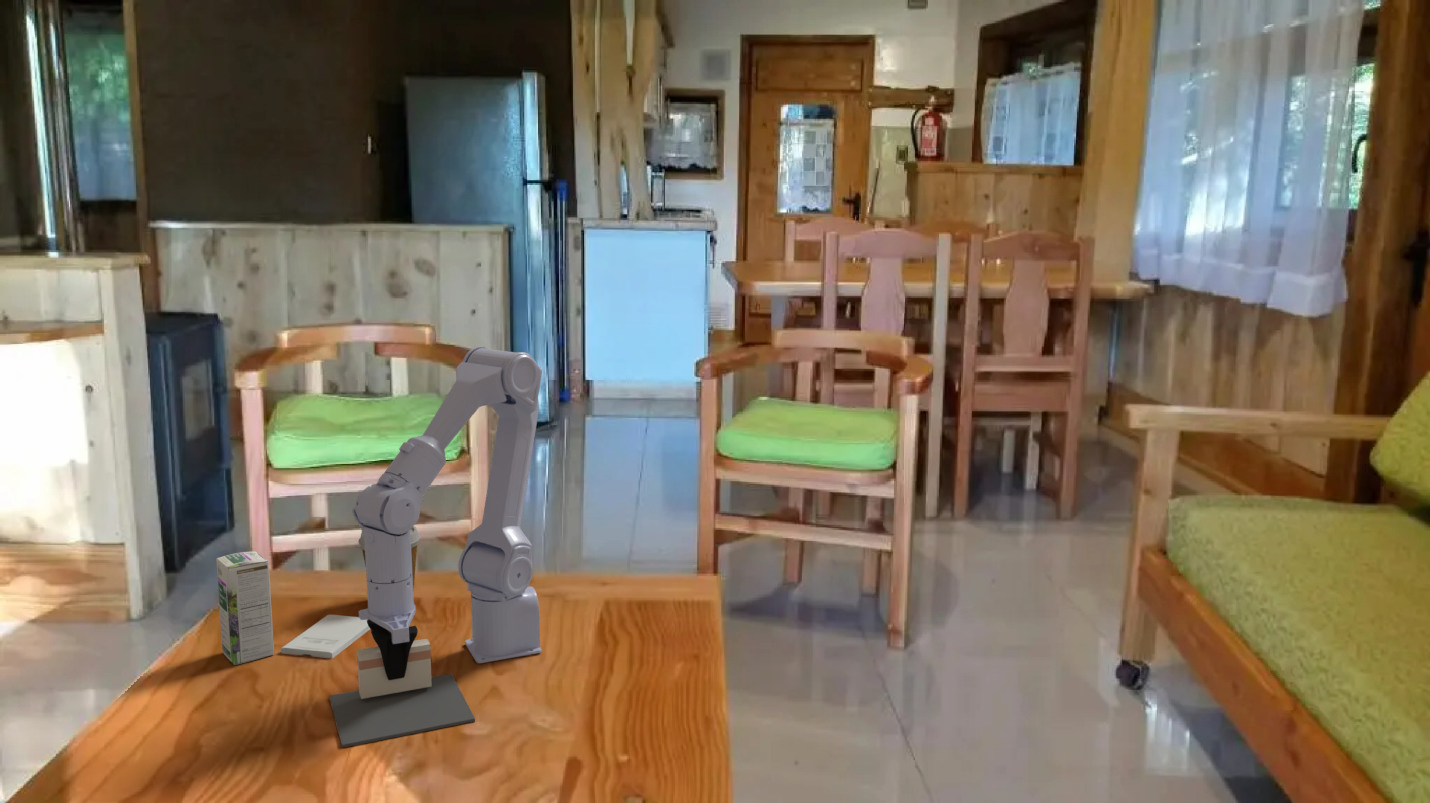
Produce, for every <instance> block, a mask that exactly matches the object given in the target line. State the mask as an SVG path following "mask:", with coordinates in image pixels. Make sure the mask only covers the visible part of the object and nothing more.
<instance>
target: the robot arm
mask: <svg viewBox="0 0 1430 803" xmlns="http://www.w3.org/2000/svg"><path fill="white" fill-rule="evenodd" d="M542 375H543V371H542V369H541V367H540V366H539V364H538V363H537V362H536V360H535V359H534V357H533V356H532V355H531V354H529V353H527V352H524V351H523V352H515V351H506V350H501V349H500V350H499V349H492V348H487V347H485V346H476V347H473V348H471V349H470V350H468V352H467V353H466V354H465V356H464V357H463V359H462V361H461V362H460V363H459V364H458V365H457V367H456V368H455V382H454V384H453V385H452V387H451V389H450V390H449V392H448V393H447V395H446V397H445V398H444V399H443V402H442V403H441V405H440V406H439V407H438V409H437V410H436V413H435V415H434V416H433V417H432V419H431V421H430V422H429V424H428V426H427V428H426V429H425V430H424V433H423V434H422V435H418V436H414V437H410V438H408V440H407V441H403V442H402V444H401V445H400V447H399V448H398V450H399V451H398V453H397V455H395V458H394V459H393V460H392V462H390V464H389V466H388V467H387V468H386V470H384V472H383V473H382V474H381V475H380V477H379V478H378V481H377V482H376V483H373V484H371V486H370V485H368V486H367V487H366V488H365V489H363V490H362V491H361V492H359V493H360V494H359V495H358V496H357V499H356V502H355V506H354V508H352V509H351V510H352V512H351V513H352V516H353V519H354V521H355V522H356V523H357V524H358V525H359V526H360V528H361V533H362V537H364V541H365V559H366V567H365V573H366V574H365V575H366V594H367V608H365V609H360V610H358V617H359V618H360V619H361V620H367V619H368V620H367V624H368V626H369V628H370V633H371V636H372V639H373V640H374V642H375V644H376V645H377V646H378V647H379V649H380V651H381V655H382V659H383V664H384V668H385V672H386V675H387V678H388V680H394V679H400V678H404V677H405V673H406V668H407V662H408V657H409V652H410V649H411V646H412V644H413V642H414V641H415V640H416V638H417V636H418V632H419V631H418V630H419V629H418V628H417V625H411V623H412V621H413V619H414V617H415V614H416V610H417V608H416V604H415V602H414V601H415V599H414V590H413V575H412V554H411V531H410V529H411V528H412V527H413V526H415V525H416V524H417V523H418V521H419V518H420V514H421V507H422V503H423V502H424V498H425V496H424V495H425V493H426V492H427V490H428V489H429V487H430V486H431V485H432V483H433V482H434V481H435V479H436V477H437V476H438V475H439V473H440V472H441V470H443V468H444V466H445V465H446V463H447V459H446V452H445V450H446V448H447V447H448V446H449V445H450V444H451V442H452V441H453V440H454V438H455V437H456V436H458V434H459V432H461V430H462V429H463V428H464V426H465V425H466V424H467V423H468V422H469V420H470V419H471V418H472V417H473V415H474V414H475V413H476V412H477V411H478V410H479V408H481V407H485V406H491V407H492V408H493V410H494V411H495V413H496V414H497V417H498V421H497V426H496V432H495V433H496V434H495V440H494V445H493V451H492V458H491V459H492V460H491V465H490V471H489V477H488V483H487V488H486V489H487V490H486V495H485V496H486V497H485V502H484V508H483V512H482V513H483V515H482V521H481V524H479V525H477V527H475V528H474V529H472V530H471V531H470V532H469V533H468V535H467V539H466V544H465V546H464V548H463V550H462V552H461V554H460V556H459V560H458V564H457V565H458V566H457V568H458V575H459V576H460V577H459V578H460V579H461V580H462V581H463V582H465V584H467V591H469V592H470V605H471V607H470V608H471V609H470V610H471V611H470V612H471V635H472V638H469V639H466V640H465V641H464V644H465V646H466V648H467V649H468V651H469V653H470V654H471V656H472V657H473V659H474V660H475V663H477V664H484V663H490V662H496V661H500V660H507V659H512V658H518V657H523V656H529V655H534V654H540V653H542V652H543V651H542V648H541V632H540V631H541V630H540V629H541V627H540V626H541V625H540V624H541V623H540V620H541V619H540V603H539V599H538V598H539V597H538V595H537V591H536V590H535V587H533V586H530V583H531V581H532V578H533V574H534V572H533V571H534V566H533V561H532V549H533V544H532V543H531V542H530V540H529V539H528V538H527V536H526V535H525V534H524V532H523V530H522V529H521V524H522V518H523V511H524V506H525V505H524V504H525V501H526V500H525V499H526V493H527V487H528V482H529V481H528V479H529V475H530V474H529V473H530V468H531V462H532V454H533V449H534V443H535V437H536V432H537V431H536V430H537V424H538V417H539V411H540V410H539V409H540V405H539V404H540V402H539V394H540V389H541V388H540V387H541V382H542V381H541V380H542ZM410 625H411V626H410Z"/></svg>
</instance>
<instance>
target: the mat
mask: <svg viewBox="0 0 1430 803" xmlns="http://www.w3.org/2000/svg"><path fill="white" fill-rule="evenodd" d="M431 681H432V686H431V687H426V688H420V689H414V690H409V691H403V692H398V693H392V694H386V695H381V696H375V697H369V698H364V699H361V697H360V693H359V689H358V690H352V691H346V692H342V693H336V694H335V693H334V694H330V695H329V701H330V705H331V709H332V713H333V716H334V720H335V726H336V729H337V732H338V736H339V740H340V743H341V744H340V745H341V748H342V749H343V748H349V747H353V746H358V745H364V744H368V743H375V742H378V741H384V740H388V739H394V738H398V737H404V736H408V735H414V734H418V733H419V734H420V733H423V732H428V731H433V730H437V729H443V728H448V727H453V726H458V725H463V724H469V723H473V722H476V718H475V716H474V713H473V712H472V710H471V709H470V707H469V706H470V705H469V704H468V702H467V700H466V698H465V697H464V695H463V692H462V691H461V689H460V687H459V685H458V683H457V680H456V679H455V678H454V676H453V674H452V673H448V674H443V675H436V676H431Z"/></svg>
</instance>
